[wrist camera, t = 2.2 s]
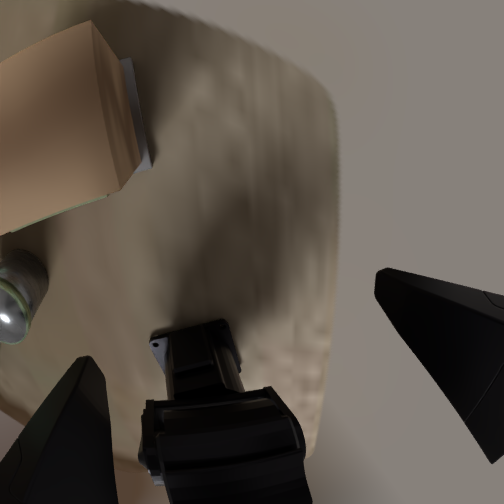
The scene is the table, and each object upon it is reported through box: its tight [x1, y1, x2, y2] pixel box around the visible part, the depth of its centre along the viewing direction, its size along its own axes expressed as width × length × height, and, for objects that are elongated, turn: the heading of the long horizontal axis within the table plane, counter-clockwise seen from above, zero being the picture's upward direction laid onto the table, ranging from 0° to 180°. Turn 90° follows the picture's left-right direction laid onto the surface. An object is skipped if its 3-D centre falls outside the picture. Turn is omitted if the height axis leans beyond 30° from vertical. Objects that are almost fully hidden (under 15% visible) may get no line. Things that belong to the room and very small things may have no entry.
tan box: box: [0, 20, 152, 236], centre depth 10 cm, size 7×8×9 cm
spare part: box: [0, 249, 49, 344], centre depth 14 cm, size 5×5×5 cm
